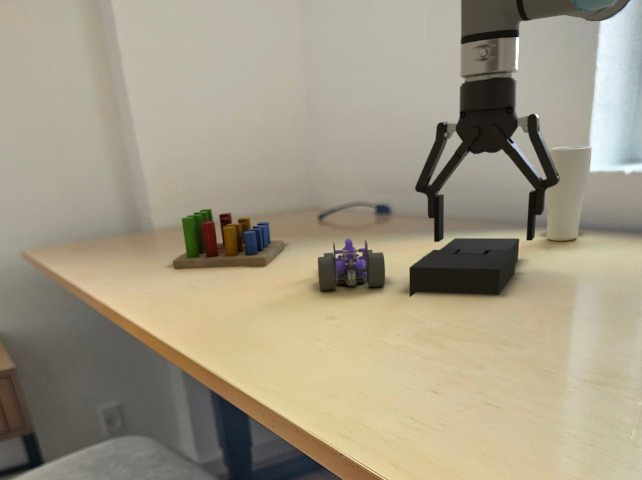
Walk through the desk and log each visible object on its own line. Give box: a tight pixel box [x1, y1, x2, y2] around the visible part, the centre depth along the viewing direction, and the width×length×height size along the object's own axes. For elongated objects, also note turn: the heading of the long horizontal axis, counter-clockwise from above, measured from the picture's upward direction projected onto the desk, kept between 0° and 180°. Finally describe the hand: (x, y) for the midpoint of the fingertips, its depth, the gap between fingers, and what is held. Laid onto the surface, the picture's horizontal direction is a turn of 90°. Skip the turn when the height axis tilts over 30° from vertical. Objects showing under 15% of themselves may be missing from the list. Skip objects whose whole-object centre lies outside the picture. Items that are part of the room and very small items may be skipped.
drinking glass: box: [545, 145, 593, 242], centre depth 115 cm, size 7×7×15 cm
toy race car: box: [317, 238, 386, 292], centre depth 100 cm, size 10×15×6 cm, turn 179°
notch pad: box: [408, 249, 516, 297], centre depth 92 cm, size 12×12×4 cm
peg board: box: [172, 208, 285, 270], centre depth 123 cm, size 18×17×9 cm
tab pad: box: [439, 237, 520, 264], centre depth 99 cm, size 10×12×4 cm
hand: (483, 239), depth 99 cm, fingers open, 13 cm apart
